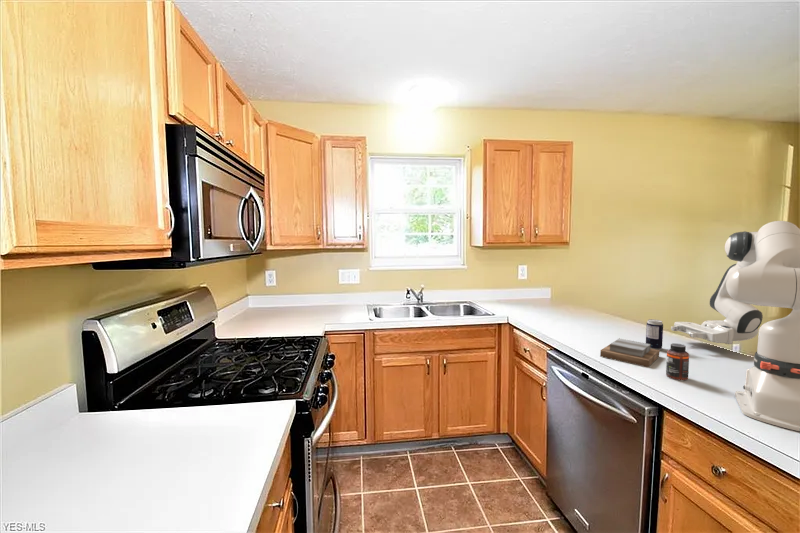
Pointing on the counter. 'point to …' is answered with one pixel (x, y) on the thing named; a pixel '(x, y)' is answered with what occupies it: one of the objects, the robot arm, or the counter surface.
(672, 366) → the supplement bottle
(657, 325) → the beverage can
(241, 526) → the counter surface
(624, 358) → the plinth
